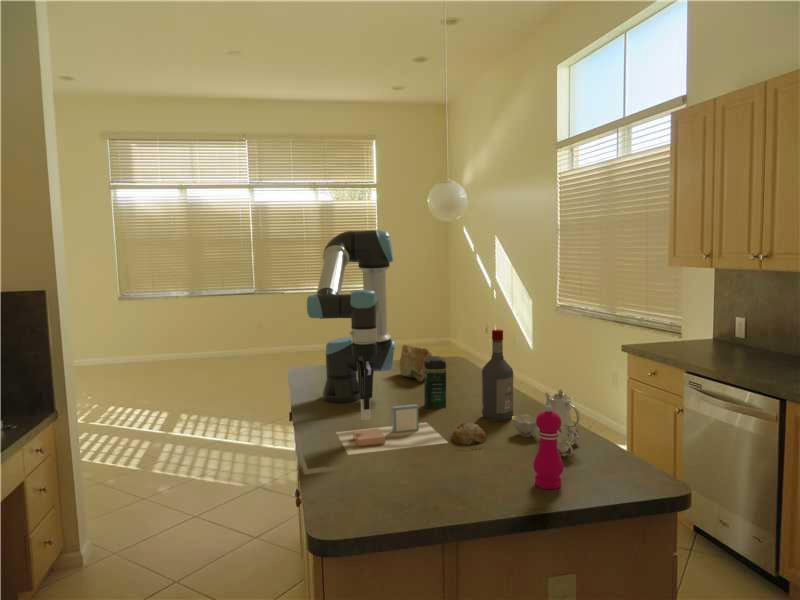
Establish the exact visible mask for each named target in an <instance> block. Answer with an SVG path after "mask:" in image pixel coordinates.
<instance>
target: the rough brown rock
mask: <svg viewBox="0 0 800 600" xmlns="http://www.w3.org/2000/svg"><path fill="white" fill-rule="evenodd" d="M429 356H434V355H433V354H432V352H431V351H430V350H429V349H428V348H425V347H424V348H421V347H418V346H416V347H415V346H413V345H410V344H403V345H402V349H401V354H400V358H399V372H400V375H401V376H402V377H406V378H415V379H416V380H417V381H418V382H419V383H421V382H424V361H425V359H426V358H428V357H429Z"/></svg>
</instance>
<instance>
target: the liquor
mask: <svg viewBox="0 0 800 600" xmlns="http://www.w3.org/2000/svg"><path fill="white" fill-rule="evenodd" d="M503 340H504V330H503V329H492V331H491V341H492V346H491V347H492V350H491V352H492V353H491V356H490V357H491V358H490V359H489V361H488V362H486V364H485V365H484V366H483V367H482V370H481V414H482V416H483V418H484V420H489V421H493V422H506V421H507V420H510V419H512V417H513V416H514V371H513V368H512V367H511V366H510V364H509V363H508V362H507V361H506V360H505V359H504V351H503V350H504V348H503V347H504V344H503Z"/></svg>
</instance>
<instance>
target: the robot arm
mask: <svg viewBox="0 0 800 600" xmlns="http://www.w3.org/2000/svg"><path fill="white" fill-rule="evenodd" d="M389 233H390V232H388V231H387V230H348V231H343V232H341V233H339V234H337V235H336V236H334V237H333V238H332V239H330V241H328V243H327V244H326V246H325V247H324V249H323V253H322V261H323V266H322V269H321V273H320V278H319V283H318V287H317V291H316V293H314V294H310V295H308V296H307V298H306V299H307V300H306V311H307V315H308V317H309V318H310V319H320V320H323V319H325V320H326V319H350V321H351V323H350V324H351V325H350V328H351V331H349V335H350V336H347V337H339V338H334V339H331V340H329V341H328V342H327V343H326V345H325V363H326V364H325V365H326V366H325V368H326V380H325V383H324V388H323V389H322V390H323V391H322V400H323V401H325V402H328V403H334V404H341V403H343V404H344V403H351V402H355V401H358V400H360V417H361V418H360V419H361V420H362V421H365V420H371V419H372V409H371V408H372V407H371V406H372V405H371V403H372V402H371V399H372V398H373V386H374V385H373V383H374V382H373V381H374V372H386V371H390V370H391V369H392V368H393V365H394V354H395V345H396V341H395V340H393V339H392V336H391V334H390V333H389V332H388V317H387V316H388V314H387V312H388V311H387V308H388V307H387V277H386V276H387V275H386V272H387V270H388V269H389V268H390V266H391V265H390V263H393V261H394V254H393V247H392V240H391V236H390V234H389ZM349 263H358V268H359V270H361V272H362V283H363V284H362V285H363V286H362V287H363V288H362V289H356V290H353V291H351V292H350V293H349V294H348V293H345V294H343V293H342V287H343V281H344V276H345V275H344V274H345V270H346V267H347V265H348V264H349ZM341 293H342V294H341Z"/></svg>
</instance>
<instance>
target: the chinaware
mask: <svg viewBox="0 0 800 600" xmlns="http://www.w3.org/2000/svg"><path fill="white" fill-rule="evenodd" d="M544 394H545V396H546V401H545V405H544V409H543V411H546V410H545V407H546V406H547V405H550V406H552V408H553V410H552V411H553V412H555V413H557V414H558V415H559V416H560V418H561V427H560V428H559V429H558V431H559V438H557V449H558V452H559V455H560V457H561V458H562V457H566V455H567V456H568V457H569V456H570V457H571V456H572V455H573V447H572V446H574V445H575V443H576V442H575V441H577V440H578V439H579V437H580V431H579V430H578V428H577V426H579V424H580V421H581V415H580V412H579V409H578V408H577V407H576V406H575V405H573V404H572V403H571V402H572V399H573V398H572V397H570V396H567V394H566V393H564V390H563V389H562V388H559V390H558V391H557V393H555V394H554V395H551V394H550V393H549V392H545V393H544ZM572 409H573V410H574V412H575V414H576V421H575V423H574V422H573V418H572V415H571V410H572ZM536 419H537V415H536V416H535V415H533V416H530V415H529V414H520V415H513V416H512V418H511V420H512V422H513V425H514V427H515V429H516V431H517V432H518V433H519V436H521V437H525V438H527V437H528V438H530V437H531V436H532V434H533V433H534V432H535V431H536V429H538V426H537V424H536ZM569 450H570V454H568V453H567V452H568V451H569Z"/></svg>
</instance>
